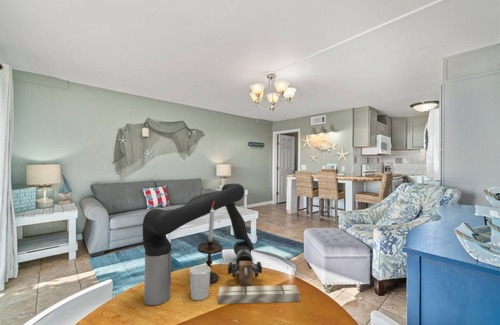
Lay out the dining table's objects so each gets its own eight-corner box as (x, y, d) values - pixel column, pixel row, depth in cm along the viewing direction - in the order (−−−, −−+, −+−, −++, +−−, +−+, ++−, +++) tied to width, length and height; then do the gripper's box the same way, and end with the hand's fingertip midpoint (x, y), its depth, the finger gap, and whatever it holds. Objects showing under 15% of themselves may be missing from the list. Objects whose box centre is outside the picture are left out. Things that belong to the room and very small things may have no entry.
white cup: (206, 288, 92) (206, 263, 92) (213, 297, 85) (213, 270, 85) (186, 293, 88) (187, 267, 88) (192, 303, 81) (193, 275, 81)
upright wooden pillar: (239, 301, 83) (239, 270, 83) (239, 288, 92) (239, 261, 92) (252, 300, 83) (252, 270, 83) (251, 288, 92) (251, 260, 92)
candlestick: (222, 274, 104) (227, 199, 103) (217, 287, 93) (222, 203, 93) (200, 271, 105) (204, 197, 104) (191, 284, 94) (196, 201, 94)
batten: (218, 303, 81) (218, 295, 81) (219, 294, 87) (219, 286, 87) (300, 301, 82) (300, 293, 83) (296, 292, 88) (295, 284, 88)
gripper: (229, 251, 105) (227, 266, 89) (259, 251, 106) (263, 265, 90) (229, 268, 105) (227, 285, 88) (259, 267, 105) (263, 284, 89)
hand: (245, 275), depth 89 cm, fingers open, 8 cm apart
